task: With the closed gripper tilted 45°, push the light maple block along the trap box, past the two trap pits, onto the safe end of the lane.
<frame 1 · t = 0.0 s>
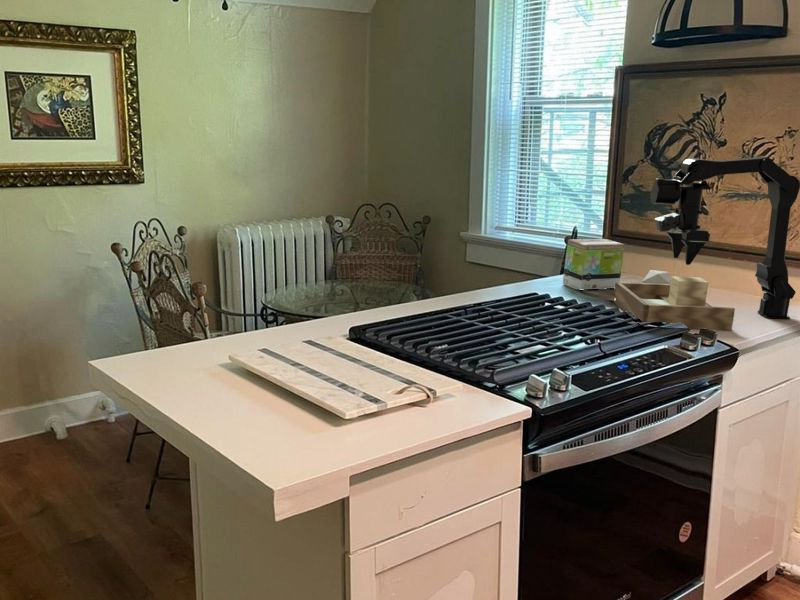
hand: (681, 261, 217), 15 cm above the countertop, tool pointing down, fingers open, 9 cm apart
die: (655, 298, 237), on the countertop
maple block: (685, 305, 216), point 3 cm above the countertop, touching trap box
trap box: (666, 315, 217), on the countertop
tea box: (590, 287, 248), on the countertop
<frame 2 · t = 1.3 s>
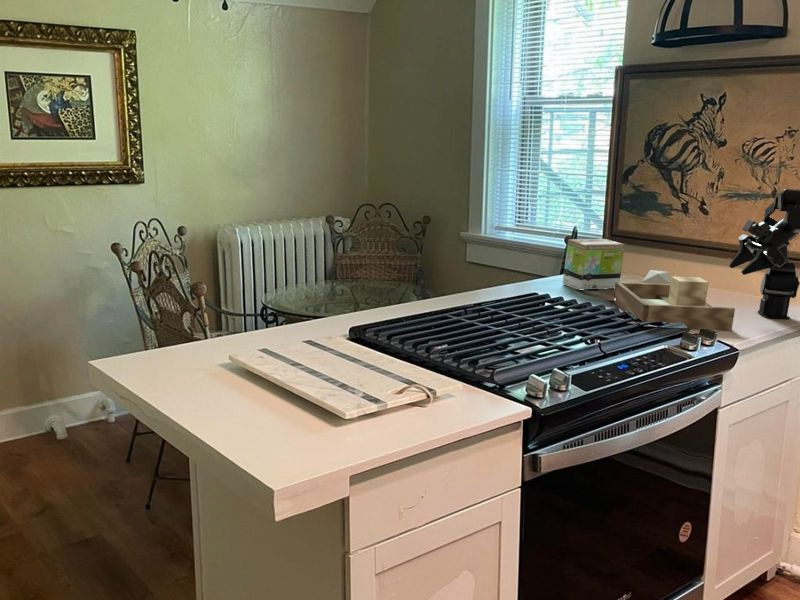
hand: (736, 270, 214), 14 cm above the countertop, tool tilted 45°, fingers open, 8 cm apart
nothing on the countertop moved.
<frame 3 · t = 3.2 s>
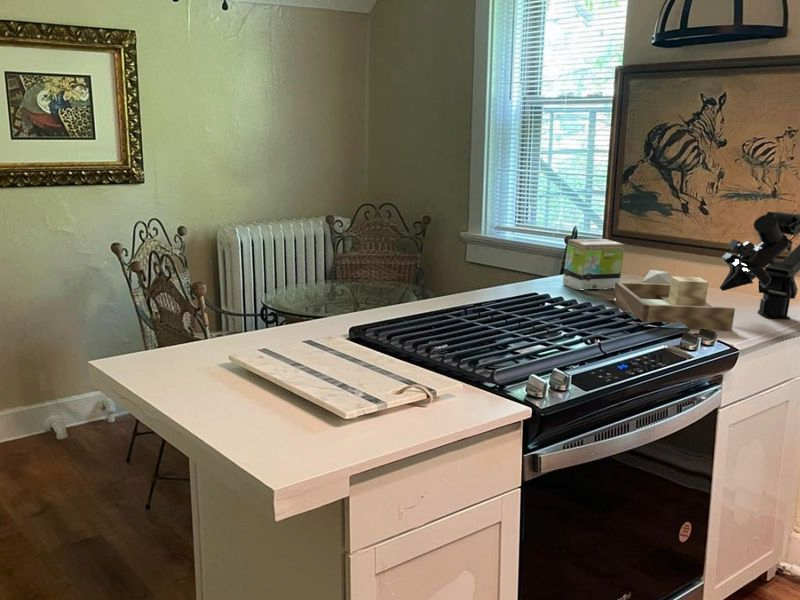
hand: (721, 289, 215), 8 cm above the countertop, tool tilted 45°, fingers closed
nothing on the countertop moved.
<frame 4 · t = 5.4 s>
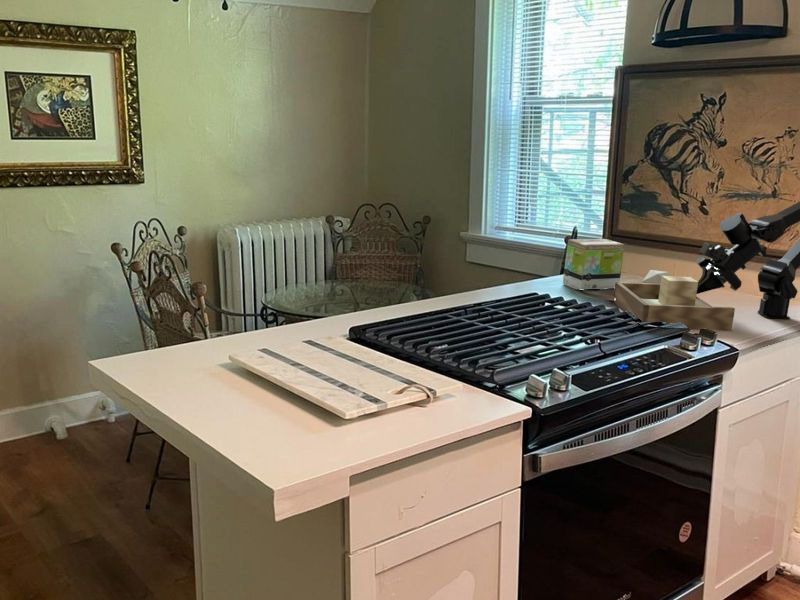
hand: (693, 292, 215), 7 cm above the countertop, tool tilted 45°, fingers closed, pressing on maple block
maple block: (676, 305, 216), point 3 cm above the countertop, touching gripper
everything else where it was.
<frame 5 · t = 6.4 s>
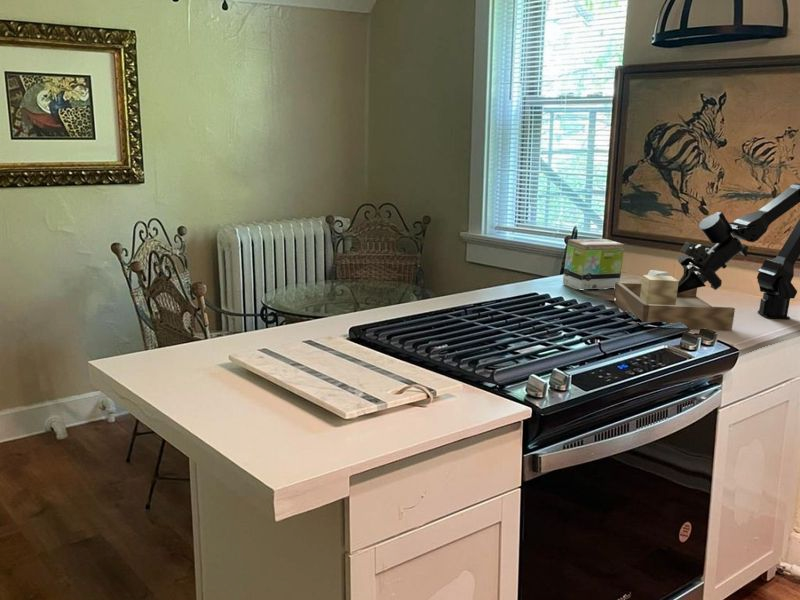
hand: (674, 292, 215), 7 cm above the countertop, tool tilted 45°, fingers closed, pressing on maple block
maple block: (656, 304, 216), point 3 cm above the countertop, touching gripper, trap box
everything else where it was.
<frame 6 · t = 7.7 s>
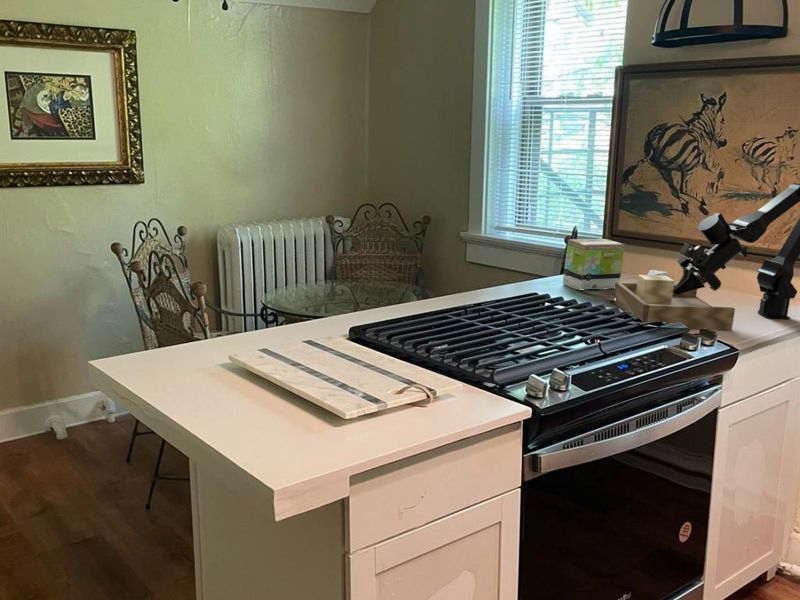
hand: (674, 293, 215), 6 cm above the countertop, tool tilted 45°, fingers closed
maple block: (652, 304, 216), point 3 cm above the countertop, touching trap box
everything else where it was.
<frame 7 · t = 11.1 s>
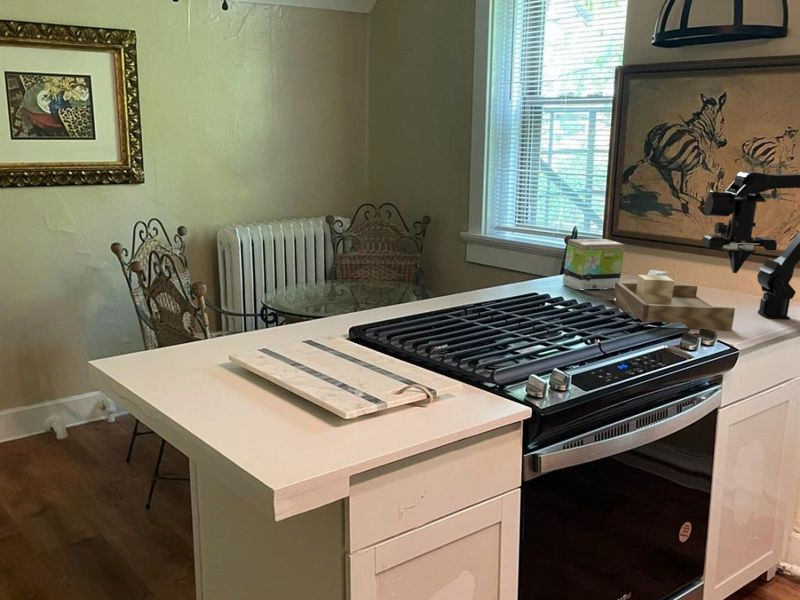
hand: (734, 272, 218), 12 cm above the countertop, tool pointing down, fingers closed
nothing on the countertop moved.
at the end: maple block 0.4 cm from the target spot, point 3.0 cm above the countertop; maple block tilted 0° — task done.
